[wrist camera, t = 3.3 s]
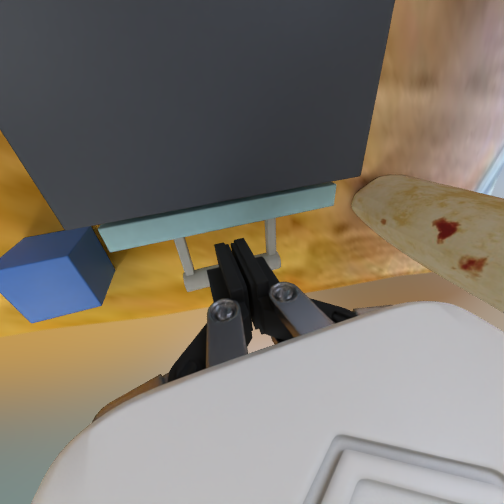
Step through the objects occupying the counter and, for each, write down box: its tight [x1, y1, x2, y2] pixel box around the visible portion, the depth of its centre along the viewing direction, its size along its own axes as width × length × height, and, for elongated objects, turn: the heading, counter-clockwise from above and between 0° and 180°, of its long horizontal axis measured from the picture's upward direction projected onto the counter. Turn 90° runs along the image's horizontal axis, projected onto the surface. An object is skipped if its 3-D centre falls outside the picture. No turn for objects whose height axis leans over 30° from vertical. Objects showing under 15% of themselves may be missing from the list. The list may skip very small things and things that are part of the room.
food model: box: [351, 175, 504, 313], centre depth 16 cm, size 10×7×20 cm
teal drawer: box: [98, 182, 336, 292], centre depth 12 cm, size 19×11×8 cm, turn 5°
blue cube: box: [0, 226, 115, 323], centre depth 16 cm, size 4×4×4 cm
